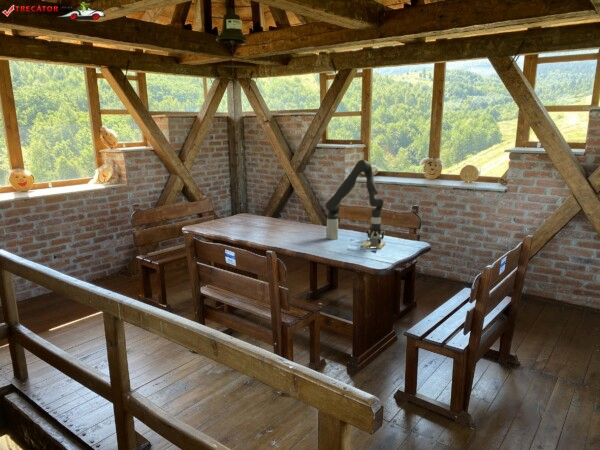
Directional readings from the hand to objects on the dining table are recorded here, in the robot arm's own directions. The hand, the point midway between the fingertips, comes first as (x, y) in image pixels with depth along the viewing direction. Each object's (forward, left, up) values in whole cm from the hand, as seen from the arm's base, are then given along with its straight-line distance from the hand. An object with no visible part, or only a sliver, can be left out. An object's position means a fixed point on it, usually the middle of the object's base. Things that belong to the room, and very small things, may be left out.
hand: (375, 243), depth 349 cm
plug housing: (0, 0, 0) cm, 0 cm away
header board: (-2, 0, -2) cm, 3 cm away
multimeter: (-4, +19, -2) cm, 20 cm away
